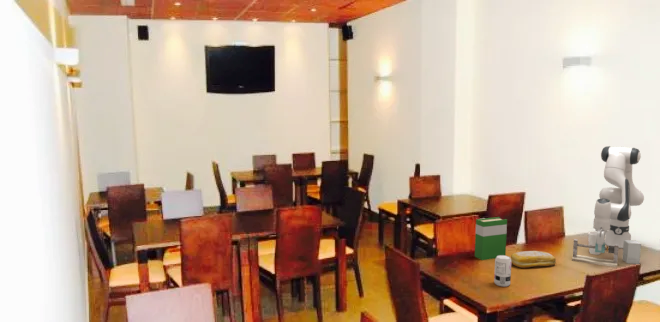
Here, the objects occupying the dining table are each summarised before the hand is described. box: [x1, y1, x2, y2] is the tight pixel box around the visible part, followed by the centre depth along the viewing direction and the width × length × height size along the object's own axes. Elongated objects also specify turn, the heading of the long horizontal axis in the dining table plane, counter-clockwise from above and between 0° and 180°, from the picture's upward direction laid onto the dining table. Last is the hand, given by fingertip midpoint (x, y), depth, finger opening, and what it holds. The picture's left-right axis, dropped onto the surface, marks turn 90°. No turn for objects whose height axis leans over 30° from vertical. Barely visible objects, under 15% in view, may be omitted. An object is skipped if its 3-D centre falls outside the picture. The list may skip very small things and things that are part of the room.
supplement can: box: [493, 255, 512, 288], centre depth 270 cm, size 8×8×15 cm
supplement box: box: [622, 239, 642, 265], centre depth 307 cm, size 7×7×13 cm
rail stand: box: [571, 238, 619, 268], centre depth 307 cm, size 10×24×12 cm, turn 59°
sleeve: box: [595, 242, 606, 254], centre depth 305 cm, size 4×5×5 cm
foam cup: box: [587, 230, 601, 256], centre depth 324 cm, size 10×9×13 cm
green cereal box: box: [474, 216, 508, 261], centre depth 316 cm, size 18×7×24 cm, turn 111°
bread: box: [510, 250, 557, 269], centre depth 302 cm, size 13×26×8 cm, turn 105°
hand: (600, 248), depth 305 cm, fingers open, 8 cm apart
